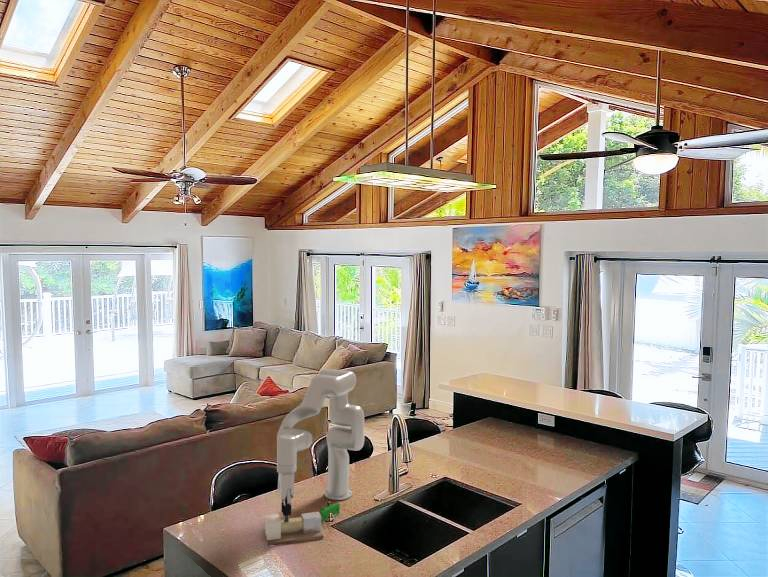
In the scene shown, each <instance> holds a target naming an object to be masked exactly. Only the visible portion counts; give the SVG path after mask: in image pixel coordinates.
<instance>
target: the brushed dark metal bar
mask: <svg viewBox="0 0 768 577" xmlns="http://www.w3.org/2000/svg"><path fill="white" fill-rule="evenodd" d="M285 501H286V500H285ZM289 516H290V515H287V516H283V519H280V521H281V531H283V530H291V529H298V528H303V518H302V517H301V516H300V517H292V518H289Z"/></svg>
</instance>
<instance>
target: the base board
mask: <svg viewBox="0 0 768 577" xmlns="http://www.w3.org/2000/svg"><path fill="white" fill-rule="evenodd" d="M264 532H265V528H264V530H263V533H264ZM264 535H266V533H264ZM265 539H267V537H266V536H265ZM323 539H324V534H323V532H322V531H321V532H314V533H307V534H303V531H302V529H301V528H298V529H291V530H283V531H281V538H280V539H273V540H266V543H267V542H268V543H267V546H268V547H271V546H270V545H275V546H281V544H282V545H288V544H294V543H295V544H296V543H303V542H309V541H310V540H311V541H316V540H323Z"/></svg>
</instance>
